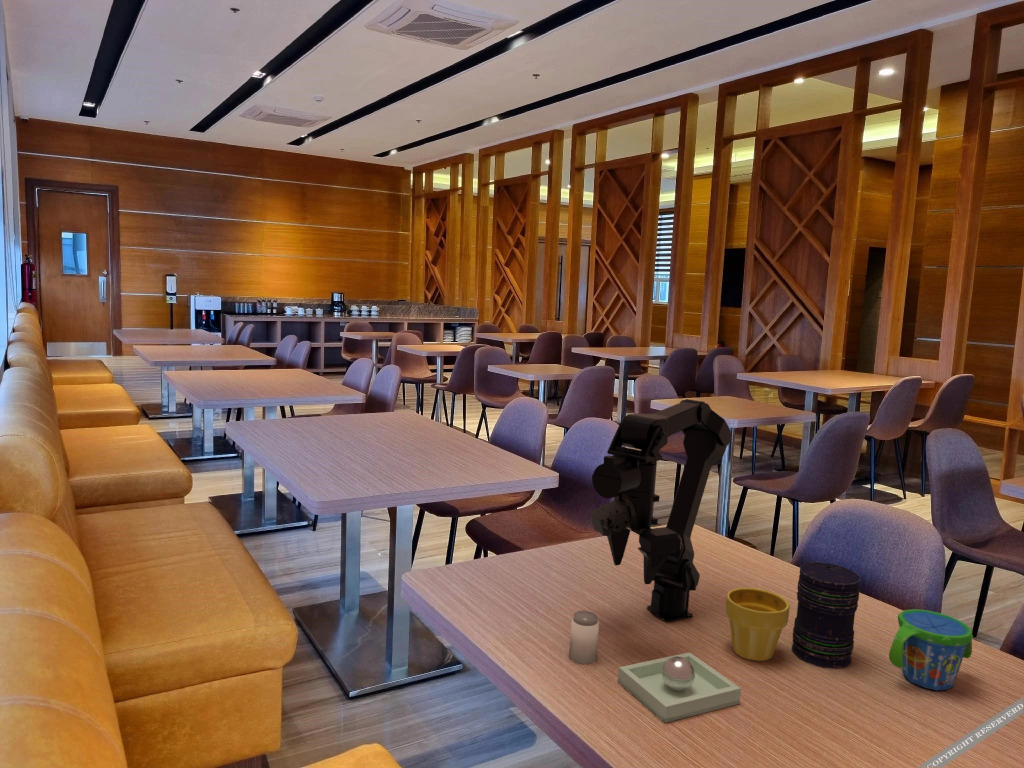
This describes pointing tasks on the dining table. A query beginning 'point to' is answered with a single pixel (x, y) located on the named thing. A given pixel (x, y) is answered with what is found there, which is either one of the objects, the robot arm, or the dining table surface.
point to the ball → (678, 673)
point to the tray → (675, 705)
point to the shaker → (584, 637)
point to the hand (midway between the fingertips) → (631, 574)
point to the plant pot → (756, 621)
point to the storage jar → (825, 615)
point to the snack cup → (930, 648)
